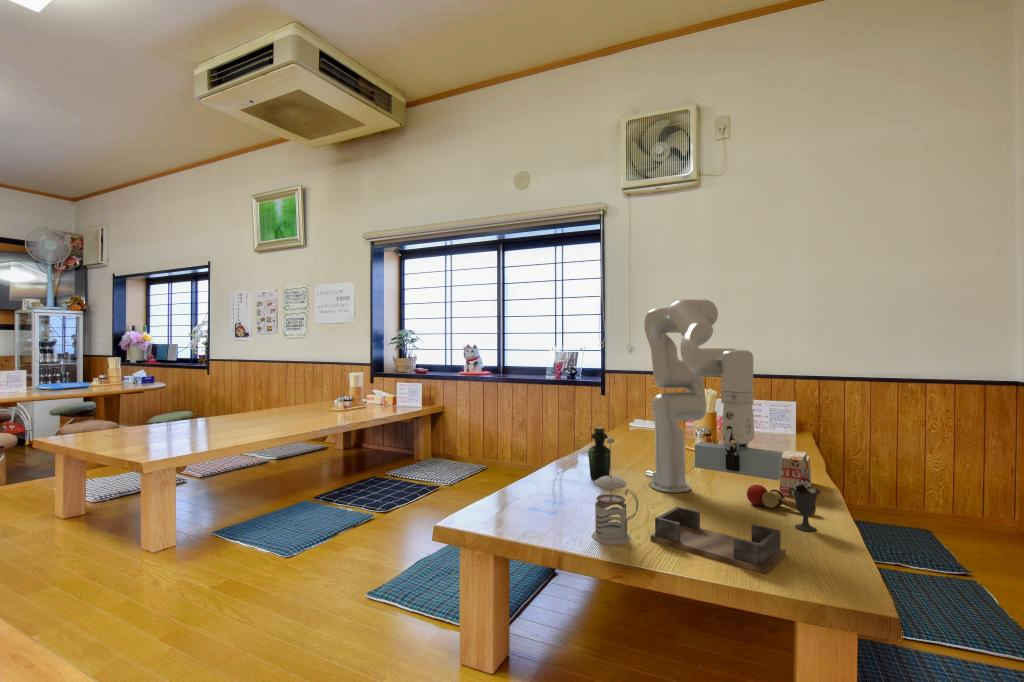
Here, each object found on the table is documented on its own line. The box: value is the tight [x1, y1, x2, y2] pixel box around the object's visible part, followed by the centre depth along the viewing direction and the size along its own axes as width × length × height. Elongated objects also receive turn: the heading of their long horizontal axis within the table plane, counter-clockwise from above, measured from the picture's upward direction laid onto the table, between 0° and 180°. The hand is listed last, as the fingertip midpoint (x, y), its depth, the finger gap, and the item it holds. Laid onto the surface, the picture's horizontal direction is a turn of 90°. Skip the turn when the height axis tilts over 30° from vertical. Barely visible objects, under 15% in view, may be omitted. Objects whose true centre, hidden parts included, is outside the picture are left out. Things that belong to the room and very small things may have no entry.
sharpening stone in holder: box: [650, 506, 787, 575], centre depth 122 cm, size 27×13×6 cm, turn 46°
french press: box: [591, 437, 639, 546], centre depth 129 cm, size 10×12×25 cm
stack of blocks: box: [779, 449, 812, 498], centre depth 169 cm, size 21×6×12 cm, turn 143°
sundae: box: [791, 470, 821, 533], centre depth 134 cm, size 7×7×15 cm
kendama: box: [746, 484, 817, 517], centre depth 150 cm, size 8×6×18 cm
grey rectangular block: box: [694, 441, 783, 481], centre depth 133 cm, size 20×5×6 cm, turn 52°
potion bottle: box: [587, 426, 610, 481], centre depth 184 cm, size 8×8×18 cm
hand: (737, 467), depth 133 cm, fingers closed on grey rectangular block, 5 cm apart
